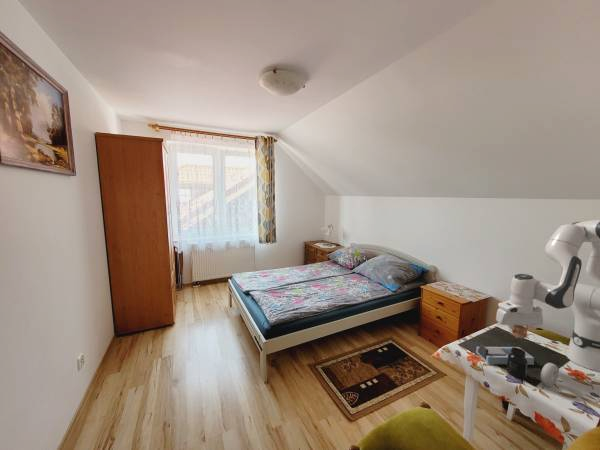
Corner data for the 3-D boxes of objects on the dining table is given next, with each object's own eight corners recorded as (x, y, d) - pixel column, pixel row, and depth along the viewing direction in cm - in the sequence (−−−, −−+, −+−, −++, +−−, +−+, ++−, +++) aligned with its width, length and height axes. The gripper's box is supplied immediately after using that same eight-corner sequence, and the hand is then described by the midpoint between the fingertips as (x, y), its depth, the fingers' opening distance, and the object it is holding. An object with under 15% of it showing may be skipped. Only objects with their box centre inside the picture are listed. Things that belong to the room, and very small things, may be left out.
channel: (518, 352, 126) (518, 346, 126) (534, 364, 117) (534, 358, 117) (475, 352, 127) (476, 346, 127) (488, 364, 118) (488, 357, 118)
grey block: (498, 353, 124) (499, 344, 124) (505, 359, 120) (506, 350, 119) (478, 353, 125) (479, 344, 124) (485, 358, 120) (485, 350, 120)
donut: (548, 391, 101) (550, 369, 100) (537, 385, 104) (539, 364, 103) (559, 383, 105) (561, 363, 104) (548, 378, 108) (551, 358, 107)
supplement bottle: (530, 380, 107) (532, 356, 106) (512, 378, 109) (514, 354, 107) (519, 369, 114) (521, 346, 112) (503, 368, 115) (505, 345, 114)
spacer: (518, 332, 122) (519, 323, 122) (526, 337, 118) (527, 328, 117) (509, 332, 122) (510, 323, 122) (516, 337, 118) (517, 328, 117)
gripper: (536, 303, 121) (533, 329, 123) (494, 303, 122) (492, 328, 124) (548, 309, 115) (545, 336, 116) (504, 309, 116) (502, 335, 117)
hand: (517, 332), depth 120 cm, fingers closed on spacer, 4 cm apart
